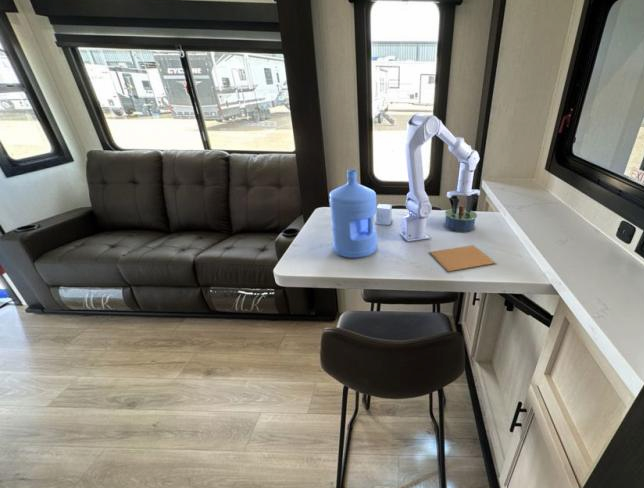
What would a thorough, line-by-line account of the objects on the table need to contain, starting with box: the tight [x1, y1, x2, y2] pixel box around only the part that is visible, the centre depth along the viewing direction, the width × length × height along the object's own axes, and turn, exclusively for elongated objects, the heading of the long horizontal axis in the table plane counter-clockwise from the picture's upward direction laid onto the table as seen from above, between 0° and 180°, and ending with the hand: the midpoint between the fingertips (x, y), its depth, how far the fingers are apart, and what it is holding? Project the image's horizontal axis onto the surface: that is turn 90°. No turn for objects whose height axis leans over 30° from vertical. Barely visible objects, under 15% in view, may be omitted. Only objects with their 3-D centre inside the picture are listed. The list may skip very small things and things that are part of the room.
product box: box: [375, 203, 393, 226], centre depth 133 cm, size 6×6×7 cm
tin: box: [444, 215, 476, 233], centre depth 132 cm, size 12×12×6 cm
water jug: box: [329, 169, 378, 259], centre depth 105 cm, size 16×16×28 cm
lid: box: [444, 204, 478, 220], centre depth 130 cm, size 13×13×5 cm
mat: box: [429, 245, 495, 273], centre depth 108 cm, size 18×14×1 cm
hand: (461, 212), depth 130 cm, fingers open, 6 cm apart
